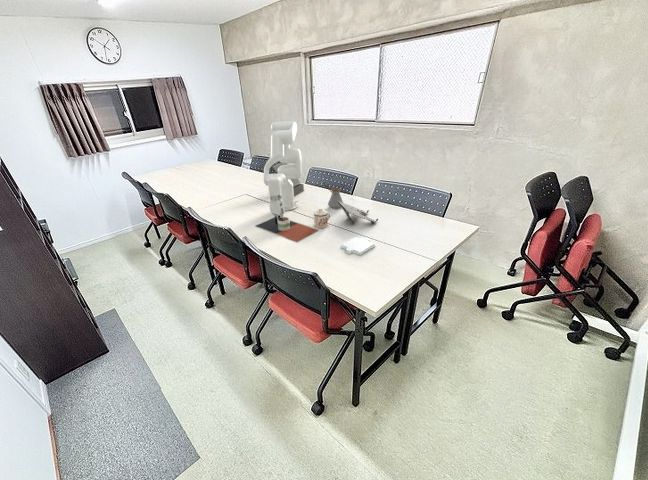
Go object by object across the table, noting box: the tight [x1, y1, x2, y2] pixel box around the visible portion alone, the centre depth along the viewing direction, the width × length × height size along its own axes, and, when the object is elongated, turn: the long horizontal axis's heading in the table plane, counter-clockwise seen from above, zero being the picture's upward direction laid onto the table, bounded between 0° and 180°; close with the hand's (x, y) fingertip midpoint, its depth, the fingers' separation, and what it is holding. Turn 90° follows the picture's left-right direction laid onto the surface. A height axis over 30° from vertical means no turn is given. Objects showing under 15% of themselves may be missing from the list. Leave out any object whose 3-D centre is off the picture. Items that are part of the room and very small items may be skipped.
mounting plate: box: [340, 236, 376, 256], centre depth 158 cm, size 18×13×2 cm
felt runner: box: [255, 217, 319, 243], centre depth 187 cm, size 20×39×1 cm, turn 46°
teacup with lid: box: [313, 207, 331, 229], centre depth 184 cm, size 12×9×12 cm
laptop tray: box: [338, 201, 379, 224], centre depth 188 cm, size 23×23×9 cm
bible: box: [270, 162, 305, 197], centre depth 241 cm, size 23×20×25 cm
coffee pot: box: [323, 182, 344, 210], centre depth 212 cm, size 21×12×15 cm, turn 29°
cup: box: [277, 216, 291, 231], centre depth 184 cm, size 8×8×7 cm
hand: (278, 223), depth 190 cm, fingers closed
